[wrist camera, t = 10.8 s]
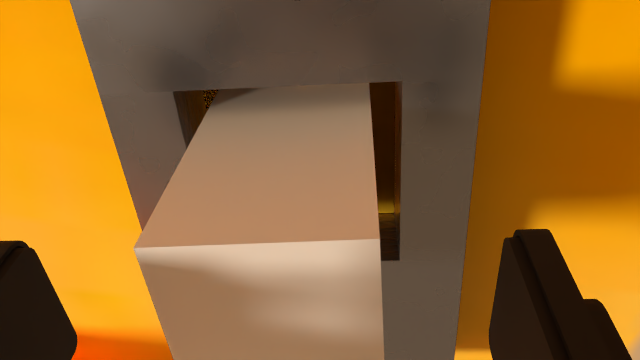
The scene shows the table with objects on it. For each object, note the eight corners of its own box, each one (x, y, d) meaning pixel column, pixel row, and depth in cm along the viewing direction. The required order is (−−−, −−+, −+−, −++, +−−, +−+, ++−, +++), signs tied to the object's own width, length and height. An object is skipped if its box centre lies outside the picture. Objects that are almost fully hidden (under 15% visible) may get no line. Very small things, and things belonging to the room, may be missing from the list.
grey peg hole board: (55, -226, 12) (-6, -239, 10) (490, -267, 12) (520, -290, 10) (209, 347, 23) (194, 397, 21) (440, 346, 22) (450, 398, 20)
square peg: (223, 81, 16) (133, 248, 10) (368, 72, 16) (380, 239, 9) (246, 200, 19) (187, 399, 12) (373, 194, 18) (385, 397, 12)
